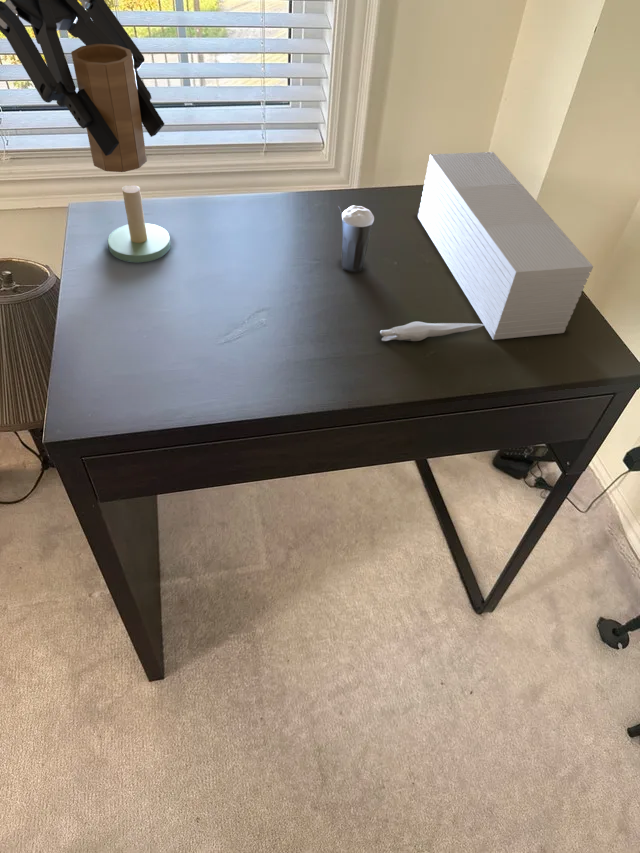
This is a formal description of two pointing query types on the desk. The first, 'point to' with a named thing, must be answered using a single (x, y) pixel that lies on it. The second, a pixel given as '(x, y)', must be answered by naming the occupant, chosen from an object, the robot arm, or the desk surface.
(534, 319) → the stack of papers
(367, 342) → the desk surface
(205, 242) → the desk surface
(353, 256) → the milkshake
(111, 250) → the holder
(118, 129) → the tube
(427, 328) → the white tapered spindle
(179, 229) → the desk surface
